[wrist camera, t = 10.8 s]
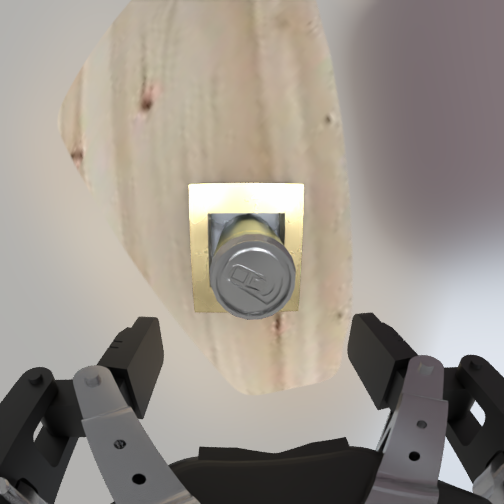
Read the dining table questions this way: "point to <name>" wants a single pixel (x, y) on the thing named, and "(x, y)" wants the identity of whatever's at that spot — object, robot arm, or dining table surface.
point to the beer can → (251, 269)
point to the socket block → (233, 205)
